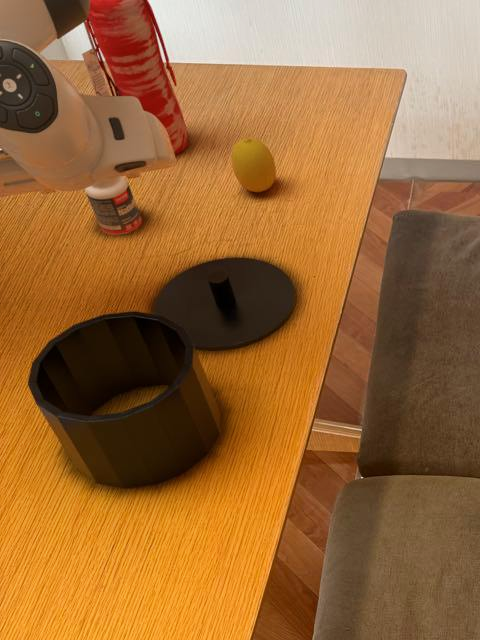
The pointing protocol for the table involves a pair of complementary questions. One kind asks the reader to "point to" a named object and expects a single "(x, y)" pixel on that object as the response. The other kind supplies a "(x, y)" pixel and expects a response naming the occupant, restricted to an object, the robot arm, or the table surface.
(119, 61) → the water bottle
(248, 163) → the lemon
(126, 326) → the trash can
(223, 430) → the table surface
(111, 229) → the pill bottle
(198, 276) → the bin lid
